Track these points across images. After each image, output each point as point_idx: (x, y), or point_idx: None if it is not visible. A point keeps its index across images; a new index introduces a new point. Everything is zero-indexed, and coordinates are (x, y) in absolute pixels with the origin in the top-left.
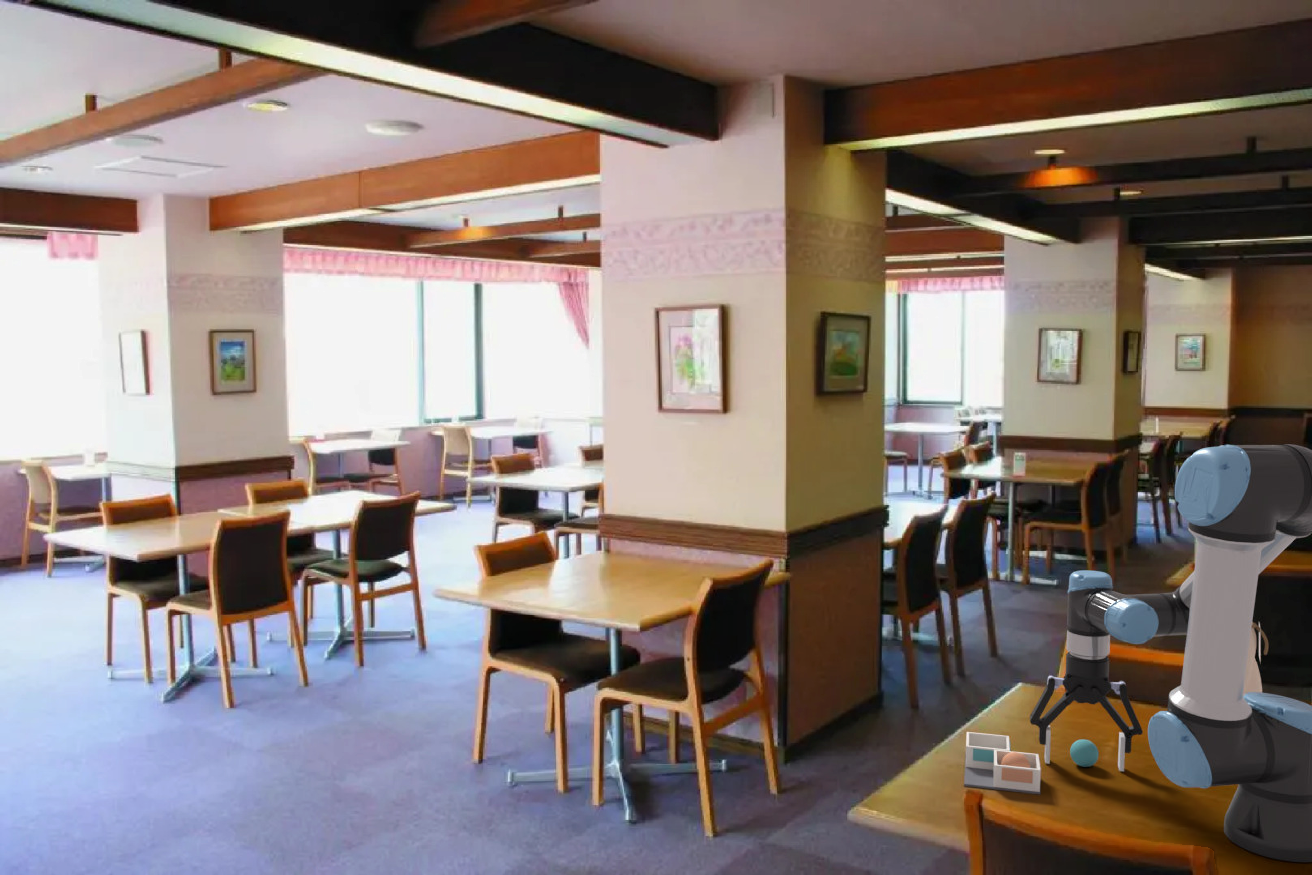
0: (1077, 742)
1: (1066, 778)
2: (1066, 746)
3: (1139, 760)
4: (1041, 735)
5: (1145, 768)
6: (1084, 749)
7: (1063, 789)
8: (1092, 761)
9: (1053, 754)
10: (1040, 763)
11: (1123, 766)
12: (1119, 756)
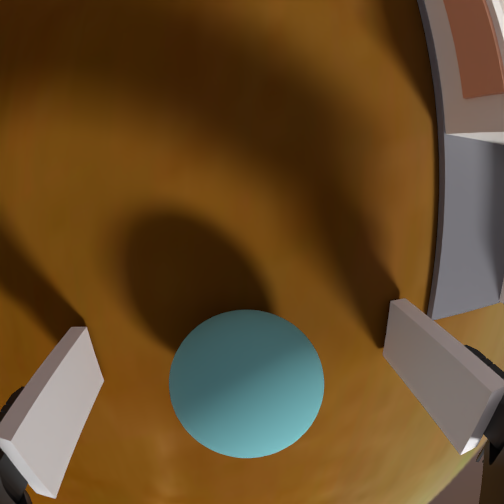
0: (299, 413)
1: (329, 151)
2: (295, 471)
3: None
4: (491, 368)
5: (27, 380)
6: (252, 358)
7: (339, 20)
8: (199, 325)
9: (352, 404)
10: (489, 23)
11: (65, 338)
12: (71, 381)
